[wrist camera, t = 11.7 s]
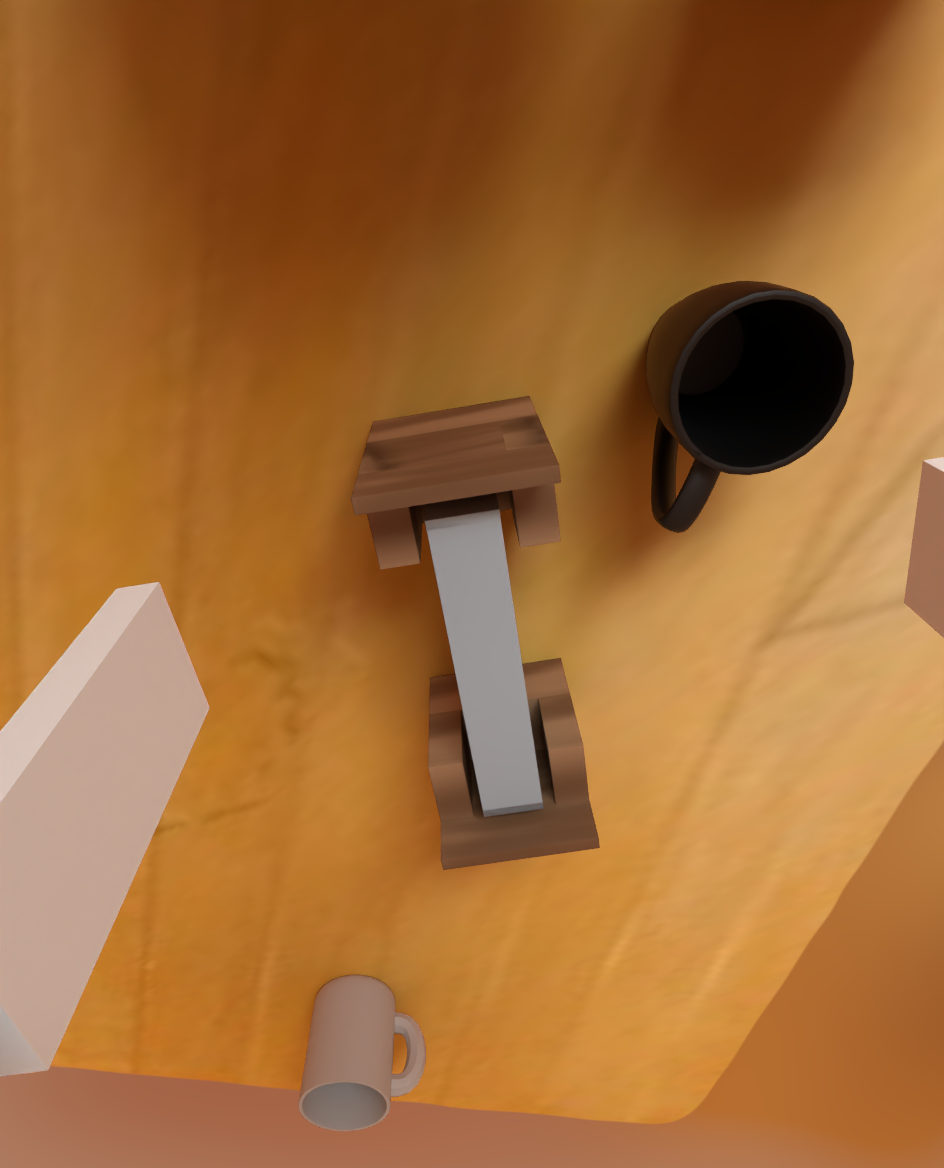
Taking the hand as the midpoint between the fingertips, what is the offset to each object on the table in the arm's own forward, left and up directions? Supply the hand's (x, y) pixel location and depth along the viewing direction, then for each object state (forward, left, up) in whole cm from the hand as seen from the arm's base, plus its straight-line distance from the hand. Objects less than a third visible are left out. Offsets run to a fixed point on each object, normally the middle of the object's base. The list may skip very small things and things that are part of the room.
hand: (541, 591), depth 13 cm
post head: (+7, -2, -31) cm, 32 cm away
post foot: (+25, -2, -31) cm, 40 cm away
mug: (+5, +11, -31) cm, 33 cm away
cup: (+56, -18, -31) cm, 66 cm away
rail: (+16, -2, -27) cm, 31 cm away
